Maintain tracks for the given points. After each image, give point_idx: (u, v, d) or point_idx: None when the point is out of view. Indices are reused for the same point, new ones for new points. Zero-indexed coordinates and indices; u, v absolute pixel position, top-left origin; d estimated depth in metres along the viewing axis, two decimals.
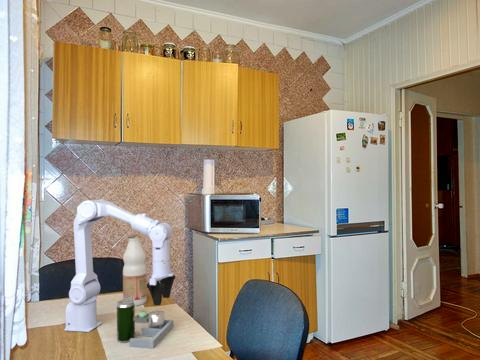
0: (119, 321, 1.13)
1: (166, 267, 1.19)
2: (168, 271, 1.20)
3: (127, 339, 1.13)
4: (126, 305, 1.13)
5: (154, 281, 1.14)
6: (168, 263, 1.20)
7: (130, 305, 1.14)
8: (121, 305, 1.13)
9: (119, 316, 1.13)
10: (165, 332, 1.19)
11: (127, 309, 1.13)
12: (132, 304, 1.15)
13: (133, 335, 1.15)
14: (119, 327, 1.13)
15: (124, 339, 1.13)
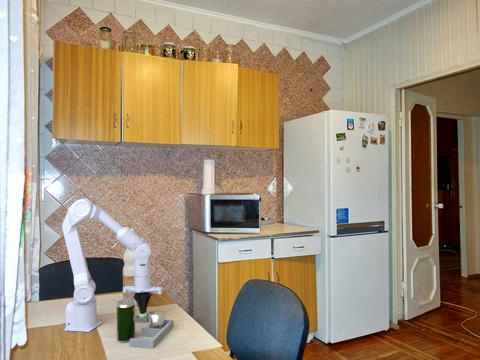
0: (119, 321, 1.13)
1: (135, 282, 1.30)
2: (137, 287, 1.30)
3: (127, 339, 1.13)
4: (126, 305, 1.13)
5: None
6: (137, 279, 1.30)
7: (130, 305, 1.14)
8: (121, 305, 1.13)
9: (119, 316, 1.13)
10: (165, 332, 1.19)
11: (127, 309, 1.13)
12: (132, 304, 1.15)
13: (133, 335, 1.15)
14: (119, 327, 1.13)
15: (124, 339, 1.13)
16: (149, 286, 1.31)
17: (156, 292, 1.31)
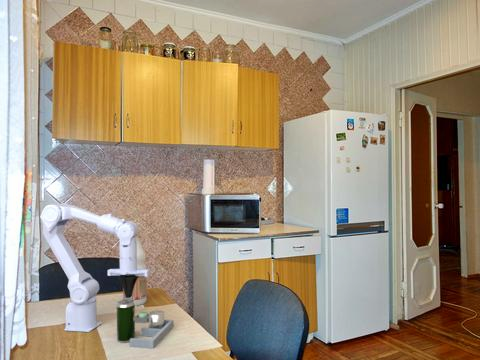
0: (119, 321, 1.13)
1: (120, 264, 1.24)
2: (122, 269, 1.23)
3: (127, 339, 1.13)
4: (126, 305, 1.13)
5: None
6: (122, 261, 1.23)
7: (130, 305, 1.14)
8: (121, 305, 1.13)
9: (119, 316, 1.13)
10: (165, 332, 1.19)
11: (127, 309, 1.13)
12: (132, 304, 1.15)
13: (133, 335, 1.15)
14: (119, 327, 1.13)
15: (124, 339, 1.13)
16: (135, 268, 1.25)
17: (142, 274, 1.25)
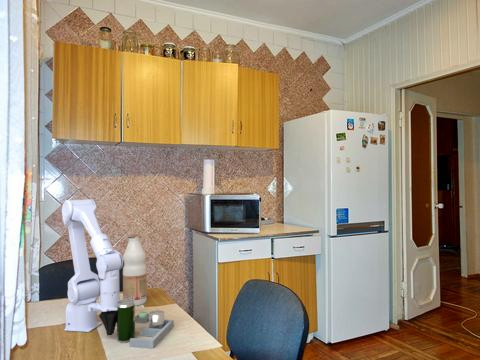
0: (119, 321, 1.13)
1: (101, 299, 1.15)
2: (103, 305, 1.14)
3: (127, 339, 1.13)
4: (126, 305, 1.13)
5: None
6: (103, 296, 1.14)
7: (130, 305, 1.14)
8: (121, 305, 1.13)
9: (119, 316, 1.13)
10: (165, 332, 1.19)
11: (127, 309, 1.13)
12: (132, 304, 1.15)
13: (133, 335, 1.15)
14: (119, 327, 1.13)
15: (124, 339, 1.13)
16: None
17: None
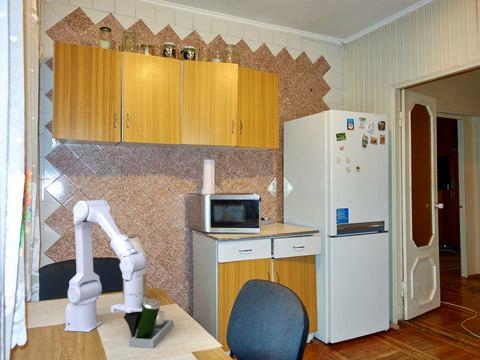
0: (142, 320, 1.12)
1: (125, 300, 1.13)
2: (127, 306, 1.13)
3: None
4: (153, 307, 1.12)
5: None
6: (127, 297, 1.13)
7: (156, 307, 1.12)
8: (148, 305, 1.12)
9: (143, 315, 1.12)
10: (165, 332, 1.19)
11: (152, 311, 1.12)
12: (158, 307, 1.13)
13: (151, 336, 1.14)
14: (140, 326, 1.12)
15: None
16: (141, 305, 1.14)
17: None
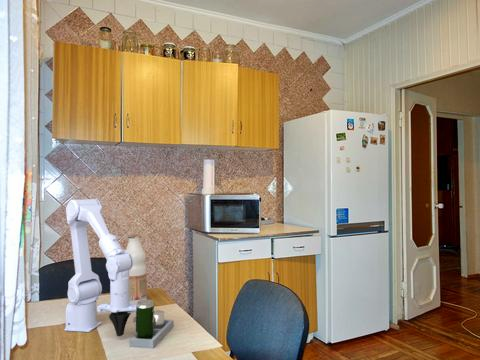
0: (138, 322, 1.12)
1: (111, 300, 1.14)
2: (113, 305, 1.13)
3: None
4: (146, 306, 1.12)
5: None
6: (113, 297, 1.13)
7: (150, 306, 1.13)
8: (141, 306, 1.12)
9: (138, 317, 1.12)
10: (165, 332, 1.19)
11: (147, 310, 1.12)
12: (152, 305, 1.14)
13: (152, 336, 1.14)
14: (138, 328, 1.12)
15: None
16: (127, 305, 1.15)
17: (135, 311, 1.15)
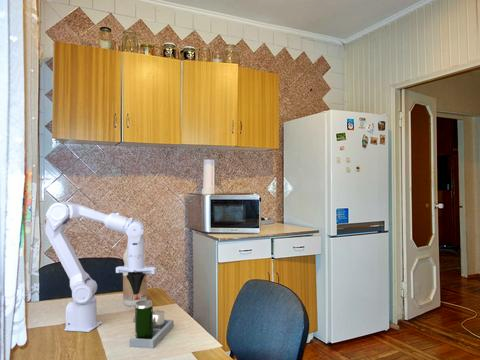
0: (138, 322, 1.12)
1: (128, 262, 1.28)
2: (130, 266, 1.27)
3: None
4: (145, 306, 1.12)
5: None
6: (130, 259, 1.27)
7: (149, 306, 1.13)
8: (140, 306, 1.12)
9: (138, 317, 1.12)
10: (165, 332, 1.19)
11: (146, 310, 1.12)
12: (150, 305, 1.14)
13: (151, 336, 1.14)
14: (138, 328, 1.12)
15: None
16: (142, 266, 1.29)
17: (149, 272, 1.28)
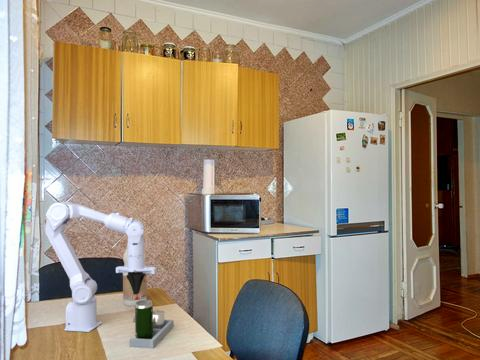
0: (138, 322, 1.12)
1: (128, 262, 1.28)
2: (130, 266, 1.27)
3: None
4: (145, 306, 1.12)
5: None
6: (130, 259, 1.27)
7: (149, 306, 1.13)
8: (140, 306, 1.12)
9: (138, 317, 1.12)
10: (165, 332, 1.19)
11: (146, 310, 1.12)
12: (150, 305, 1.14)
13: (151, 336, 1.14)
14: (138, 328, 1.12)
15: None
16: (142, 266, 1.29)
17: (149, 272, 1.28)
